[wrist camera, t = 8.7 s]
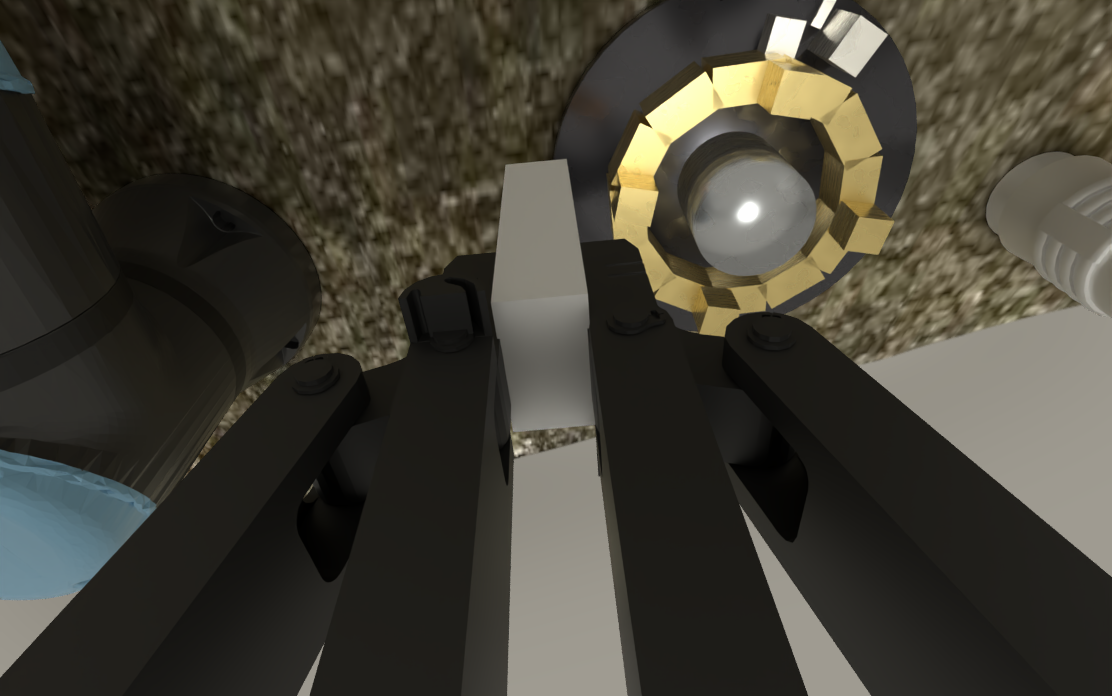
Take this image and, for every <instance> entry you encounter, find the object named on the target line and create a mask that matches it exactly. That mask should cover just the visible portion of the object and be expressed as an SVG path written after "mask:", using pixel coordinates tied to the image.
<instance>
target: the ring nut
mask: <svg viewBox="0 0 1112 696" xmlns="http://www.w3.org/2000/svg"><path fill="white" fill-rule="evenodd" d="M806 22H807V21H805V20H802V19H799V18H797V17H790V16H783V15H777V14H770V13H768V14H767V17H766V20H765V24H764V27H763V31H762V34H761V37H760V41H759V44H758V48H757V50H751V51H745V52H738V53H731V54H724V55H717V56H710V57H703V58H701V67H700V66H699V65H698V64H697V63H696V62H695V61H693V62H692V63H691V64H690V65H688V66H687V67H686V68H684V69H683V70H682V71H680V72H679V73H678V74H677V75H675V76H674V77H673V78H671V79H670V80H669V81H667V82H666V83H665V84H663V85H662V86H661V87H660V88H658V89H657V90H656V91H654V92H653V93H652V94H650V95H649V96H648V97H647V98H645V99H644V100H643V101H641V102H640V103H639V104H640V106H641V109H642V111H643V113H642V112H640V111H637V110H635V109H634V111H633V113H632V115H631V117H630V120H629V122H628V124H627V126H626V128H625V130H624V132H623V135H622V137H621V139H620V141H619V143H618V145H617V148H616V150H615V152H614V154H613V156H612V158H611V161H610V163H609V165H608V171H609V173H606V175H607V186H608V197H609V209H610V220H611V230H612V235H613V240H614V239H626V240H627V241H629V242H630V243H632V244H633V245H634V246H636V247H637V248H638V249H639V252H640V255H641V258H642V261H643V264H644V267H645V269H646V274H647V275H648V278H649V281H650V284H651V287H652V290H653V293H654V296H655V299H657V300H660V301H663V302H665V303H668V304H671V305H674V306H676V307H679V308H682V309H684V310H687V311H690V312H692V314H693V317H694V320H695V323H696V326H697V329H698V332H699V334H704V335H714V336H723V337H725V331H726V326H727V325H728V324H729V323H730V322H731V321H732V320H734V319H735V318H738V317H739V314H741V313H750V312H759V311H765V309H766V301H767V302H768V304H769V305H770V307H771V309H772V308H774V307H776V306H777V305H779V304H781V303H783V302H785V301H786V300H788V299H790V298H792V297H793V296H795V295H797V294H799V293H800V292H802V291H804V290H806V289H808V288H809V287H811V286H813V285H815V284H816V283H818V282H820V281H822V280H823V279H825V278H824V276H823V275H822V273H821V271H824V272H826V273H829V274H831V272H832V271H833V270H834V269H835V267H836V266H837V265H838V263H839V262H840V261H841V259H842V258H843V257H844V255H845V254H846V253H847V252H848V251H852V252H860V253H869V254H877V255H878V254H879V252H880V250H881V248H882V246H883V244H884V242H885V240H886V238H887V236H888V234H889V232H890V230H891V228H892V225H893V223H894V221H893V220H892V219H891V218H890V217H889V216H888V215H887V214H885V213H884V212H883V211H882V210H881V209H880V208H879V207H877V206H876V205H875V204H874V202H875V197H876V191H877V186H878V180H879V175H880V170H881V164H882V159H883V155H881V154H880V153H878V151H880V150H881V149H882V147H881V145H880V143H879V140H878V138H877V136H876V134H875V132H874V129H873V127H872V125H871V123H870V121H869V118H868V116H867V114H866V112H865V109H864V107H863V105H862V103H861V101H860V98H859V96H858V94H857V93H856V92H854V91H852V90H851V89H852V88H851V87H849V86H847V85H846V84H844V83H842V82H840V81H838V80H836V79H835V78H833V77H831V76H829V75H827V74H825V73H823V72H821V71H819V70H817V69H815V68H813V67H811V66H809V65H807V64H805V63H803V62H801V61H799V60H797V59H795V55H796V52H797V49H798V46H799V43H800V40H801V37H802V34H803V31H804V28H805V25H806ZM755 103H758V104H759V105H760V106H762V107H763V108H764V109H765V110H766V111H767V112H769V113H770V114H773V115H781V116H788V117H795V118H802V119H809V120H810V122H811V124H812V126H813V128H814V130H815V132H816V134H817V136H818V138H819V140H820V142H821V144H822V146H823V148H824V150H825V151H824V159H823V167H822V175H821V183H820V191H819V198H818V199H817V200H816V219H815V224H814V227H813V230H812V232H811V234H810V236H809V238H808V240H807V241H806V243H805V244H804V246H803V247H802V248H801V249H800V251H799V252H798V253H797V254H796V255H795V256H793V257H792V258H791V259H790V260H789V261H787V262H786V263H784V264H783V265H781V266H779V267H778V268H776V269H773V270H771V271H769V272H766V273H763V274H758V275H752V276H737V275H731V274H727V273H724V272H722V271H720V270H718V269H716V268H714V267H707V268H705V267H702V266H699V265H697V264H694V263H692V262H689V261H687V260H684V259H682V258H679V257H676V256H674V255H671V254H669V253H666V251H665V250H664V249H663V247H662V246H661V245H660V243H659V242H658V241H657V239H656V238H655V236H654V235H653V234H652V232H651V231H650V230H649V228H648V227H650V226H651V222H652V218H653V214H654V209H655V205H656V201H657V197H658V192H659V191H658V188H657V186H656V183H655V181H654V178H653V176H654V174H655V172H656V171H657V169H658V167H659V165H660V163H661V161H662V159H663V157H664V155H665V153H666V151H667V149H668V147H669V145H670V143H672V142H673V141H675V140H676V139H677V138H679V137H680V136H681V135H683V134H684V133H686V132H687V131H688V130H690V129H691V128H693V127H694V126H695V125H697V124H698V123H699V122H701V121H702V120H704V119H705V118H706V117H708V116H709V115H711V114H712V113H713V112H715V111H716V110H717V109H719V108H726V107H734V106H741V105H748V104H755ZM820 270H821V271H820Z"/></svg>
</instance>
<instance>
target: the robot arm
mask: <svg viewBox="0 0 1112 696" xmlns="http://www.w3.org/2000/svg"><path fill="white" fill-rule="evenodd" d="M31 94H35V91H34V87H33V85H32V83H31V82H30V81H29V80H27V79H25V78H24V77H22V76H21V74H20V73H19V71H18V69H17V68H16V66H15V64H14V62H13V61H12V59H11V57H10V56H9V54H8V52H7V51H6V49H5V47H4V45H3V44H2V42H1V40H0V600H36V599H46V598H53V597H59V596H63V595H68V594H71V593H74V592H77V591H80V590H81V591H80V592H79V593H78V594H77V595H76V596H75V597H74V598H73V599H72V600H71V601H70V603H69V604H68V605H67V606H66V607H65V608H64V609H63V610H62V611H61V612H60V613H59V615H58V616H57V617H56V618H55V619H54V620H53V621H52V622H51V623H50V624H49V626H47V628H46V629H45V630H44V631H43V632H42V633H41V634H40V635H39V636H38V637H37V638H36V640H35V641H34V642H33V643H32V644H31V645H30V646H29V647H28V648H27V649H26V650H25V651H24V652H23V654H22V655H21V656H20V657H19V658H18V659H17V660H16V661H15V662H14V663H13V664H12V666H11V667H10V668H9V669H8V670H7V671H6V672H5V673H4V674H3V675H2V677H1V678H0V696H297V694H298V692H299V690H300V689H301V687H302V685H303V683H304V681H305V679H306V677H307V675H308V673H309V671H310V669H311V668H312V666H313V664H314V662H315V660H316V658H317V656H318V654H319V652H320V650H321V648H322V646H323V645H324V647H323V651H322V654H321V658H320V661H319V665H318V668H317V672H316V675H315V679H314V682H313V686H312V689H311V692H310V696H507V675H508V640H509V605H510V604H509V603H510V570H511V533H512V499H513V498H512V497H513V463H514V452H513V446H512V440H511V435H510V422H512V427H513V432H519V431H531V430H542V429H554V428H565V427H577V426H588V425H595V427H596V442H597V459H598V475H599V476H600V477H601V484H602V492H603V501H604V509H605V517H606V525H607V533H608V541H609V549H610V557H611V565H612V573H613V581H614V589H615V598H616V606H617V613H618V622H619V630H620V637H621V646H622V654H623V661H624V669H625V678H626V686H627V694H628V696H808V694H807V691H806V688H805V686H804V683H803V680H802V677H801V674H800V672H799V669H798V666H797V663H796V661H795V658H794V655H793V652H792V649H791V647H790V644H789V641H788V638H787V636H786V633H785V630H784V628H783V624H782V622H781V619H780V616H779V613H778V610H777V608H776V605H775V602H774V599H773V597H772V594H771V591H770V588H769V585H768V583H767V580H766V577H765V575H764V572H763V569H762V566H761V563H760V560H759V558H758V555H757V552H756V550H755V547H754V544H753V541H752V538H751V536H750V533H749V530H748V527H747V525H746V522H745V519H744V516H743V513H742V510H741V508H740V505H741V507H742V508H743V510H744V511H745V513H746V514H747V516H748V517H749V519H750V520H751V521H752V523H753V524H754V526H755V527H756V529H757V530H758V531H759V533H760V534H761V536H762V537H763V539H764V540H765V542H766V543H767V544H768V546H769V548H770V549H771V550H772V552H773V553H774V555H775V556H776V558H777V559H778V561H779V562H780V563H781V565H782V567H783V568H784V569H785V571H786V572H787V574H788V575H789V577H790V578H791V580H792V581H793V583H794V584H795V585H796V587H797V588H798V590H799V591H800V593H801V594H802V595H803V597H804V599H805V600H806V601H807V603H808V604H809V606H810V607H811V609H812V610H813V612H814V613H815V615H816V616H817V617H818V619H819V620H820V622H821V623H822V625H823V626H824V628H825V629H826V631H827V632H828V633H829V635H830V636H831V638H832V639H833V641H834V642H835V644H836V645H837V647H838V648H839V649H840V650H841V652H842V654H843V655H844V657H845V658H846V660H847V661H848V663H849V664H850V665H851V667H852V668H853V670H854V671H855V673H856V674H857V676H858V677H859V679H860V680H861V681H862V683H863V684H864V686H865V687H866V689H867V690H868V692H869V693H870V695H871V696H1112V577H1111V576H1110V575H1108V574H1107V573H1106V572H1105V571H1104V570H1103V569H1101V568H1100V567H1099V566H1098V565H1097V564H1095V563H1094V562H1093V561H1092V560H1091V559H1089V558H1088V557H1087V556H1086V555H1084V554H1083V553H1082V552H1081V551H1080V550H1079V549H1077V548H1076V547H1075V546H1074V545H1073V544H1071V543H1070V542H1069V541H1068V540H1067V539H1065V538H1064V537H1063V536H1062V535H1061V534H1059V533H1058V532H1057V531H1056V530H1055V529H1053V528H1052V527H1051V526H1050V525H1049V524H1047V523H1046V522H1045V521H1044V520H1043V519H1041V518H1040V517H1039V516H1038V515H1036V514H1035V513H1034V512H1033V511H1032V510H1031V509H1029V508H1028V507H1027V506H1026V505H1025V504H1023V503H1022V502H1021V501H1020V500H1019V499H1017V498H1016V497H1015V496H1014V495H1013V494H1011V493H1010V492H1009V491H1008V490H1007V489H1005V488H1004V487H1003V486H1002V485H1001V484H999V483H998V482H997V481H996V480H995V479H993V478H992V477H991V476H990V475H989V474H987V473H986V472H985V471H984V470H982V469H981V468H980V467H979V466H978V465H977V464H975V463H974V462H973V461H972V460H970V459H969V458H968V457H967V456H966V455H964V454H963V453H962V452H961V451H960V450H959V449H957V448H956V447H955V446H954V445H952V444H951V443H950V442H949V441H948V440H946V439H945V438H944V437H943V436H941V434H939V433H938V432H937V431H936V430H934V429H933V428H932V427H931V426H930V425H928V424H927V423H926V422H925V421H924V420H923V419H921V418H920V417H919V416H918V415H917V414H915V413H914V412H913V411H912V410H911V409H909V408H908V407H907V406H906V405H904V404H903V403H902V402H901V401H900V400H899V399H897V398H896V397H895V396H894V395H893V394H891V393H890V392H889V391H888V390H887V389H885V388H884V387H883V386H882V385H880V384H879V383H878V382H877V381H876V380H875V379H873V378H872V377H871V376H870V375H868V374H867V373H866V372H865V371H864V370H862V369H861V368H860V367H859V366H858V365H857V364H855V363H854V362H853V361H852V360H851V359H849V358H848V357H847V356H846V355H845V354H843V353H842V352H841V351H840V350H839V349H837V348H836V347H835V346H834V345H833V344H831V343H830V342H829V341H828V340H827V339H825V338H824V337H823V336H822V335H821V334H819V333H818V332H817V331H816V330H815V329H813V328H812V327H811V326H809V325H808V324H806V323H804V322H803V321H801V320H799V319H798V318H794V317H791V316H788V315H784V314H781V313H775V312H773V313H770V312H758V313H749V314H745V315H743V316H740V317H738V318H735V319H734V320H732V321H731V322H730V323H729V324H728V325H727V326H726V331H725V337H723V336H714V335H704V334H698V333H692V332H688V331H685V330H682V329H679V328H677V327H676V326H675V324H674V322H673V319H672V317H671V316H670V315H669V314H668V312H667V311H666V310H664V309H662V308H661V307H659V306H658V305H657V302H656V299H655V296H654V293H653V290H652V287H651V284H650V281H649V278H648V275H647V274H646V269H645V267H644V264H643V261H642V258H641V255H640V252H639V249H638V248H637V247H636V246H634V245H633V244H632V243H630V242H629V241H627V240H626V239H614V240H603V241H592V242H582V243H580V241H579V234H578V228H577V222H576V215H575V209H574V203H573V196H572V190H571V184H570V177H569V171H568V165H567V159H560V160H549V161H539V162H529V163H518V164H508V165H506V166H505V175H504V185H503V194H502V203H501V213H500V222H499V231H498V241H497V250H496V252H494V253H484V254H473V255H462V256H457V257H456V258H455V259H454V260H453V261H452V262H451V263H450V264H449V265H448V266H447V267H445V269H444V273H443V275H437V276H432V277H429V278H426V279H423V280H421V281H418V282H416V283H414V284H413V285H411V286H410V287H408V288H407V289H405V290H404V291H403V293H402V294H401V295H400V297H399V298H398V300H399V303H400V307H401V310H402V314H403V318H404V321H405V325H406V328H407V332H408V336H409V339H410V347H409V350H408V354H407V357H405V358H403V359H401V360H399V361H396V362H394V363H391V364H388V365H385V366H382V367H378V368H375V369H371V370H368V371H364V372H362V369H361V366H360V363H359V361H357V360H356V359H355V358H353V357H352V356H350V355H345V354H340V353H332V354H320V355H315V356H314V357H313V356H312V357H309V358H306V359H304V360H302V361H300V362H298V363H296V364H294V365H292V366H290V367H289V368H288V369H286V370H285V371H284V372H283V373H282V374H280V375H279V376H278V377H277V378H276V379H275V380H274V381H273V382H272V383H271V385H270V386H269V387H268V388H267V389H266V390H265V391H264V392H263V393H262V394H261V395H260V396H259V398H258V399H257V400H256V401H255V402H254V403H253V404H252V405H251V406H250V407H249V408H248V409H247V411H246V412H245V413H244V414H243V415H242V416H241V417H240V418H239V419H238V420H237V421H236V423H235V424H234V425H233V426H232V427H231V428H230V429H229V430H228V431H227V432H226V433H225V434H224V436H223V437H222V438H221V439H220V440H219V441H218V442H217V443H216V444H215V445H214V446H213V447H212V449H211V450H210V451H209V452H208V453H207V454H206V455H205V456H204V457H203V458H202V459H201V460H200V462H199V463H198V464H197V465H196V466H195V467H194V468H193V469H192V470H191V471H190V472H189V473H188V475H187V476H186V477H185V478H184V476H185V475H186V473H187V472H188V470H189V469H190V467H191V466H192V464H193V463H194V461H195V460H196V458H197V457H198V455H199V454H200V452H201V451H202V449H203V447H204V446H205V444H206V443H207V441H208V440H209V438H210V437H211V435H212V434H213V432H214V431H215V429H216V428H217V426H218V425H219V423H220V422H221V420H222V419H223V417H224V416H225V414H226V412H227V411H228V409H229V408H230V406H231V405H232V403H233V402H234V400H235V399H236V397H237V396H238V394H239V393H240V392H242V391H244V390H245V389H247V388H248V387H250V386H252V385H253V384H255V383H256V382H258V381H260V380H261V379H263V378H264V377H266V376H268V375H269V374H271V373H272V372H274V371H276V370H277V369H279V368H280V367H282V366H284V365H285V364H286V363H288V362H289V361H290V360H291V359H292V358H293V357H294V356H295V355H296V354H297V353H298V352H299V351H300V350H301V348H302V347H303V345H304V344H305V342H306V341H307V339H308V337H309V336H310V334H311V332H312V331H313V329H314V327H315V325H316V323H317V320H318V317H319V314H320V308H321V289H320V283H319V279H318V275H317V272H316V269H315V267H314V264H313V262H312V260H311V258H310V256H309V254H308V252H307V250H306V249H305V247H304V246H303V244H302V243H301V241H300V240H299V239H298V237H297V236H296V235H295V233H294V232H293V231H292V230H291V229H290V228H289V227H288V226H287V225H286V224H285V223H284V222H283V221H282V220H281V219H280V218H279V217H278V216H277V215H276V214H275V213H274V212H272V211H271V210H270V209H269V208H267V207H266V206H265V205H263V204H262V203H260V202H259V201H257V200H256V199H254V198H253V197H251V196H249V195H247V194H246V193H244V192H242V191H240V190H238V189H236V188H234V187H231V186H229V185H226V184H224V183H221V182H218V181H215V180H212V179H208V178H205V177H200V176H195V175H188V174H159V175H152V176H148V177H144V178H141V179H138V180H136V181H134V182H131V183H130V184H128V185H126V186H124V187H123V188H121V189H119V190H118V191H116V192H114V193H113V194H111V195H109V196H108V197H106V198H105V199H103V200H102V201H101V202H100V203H99V204H98V205H97V206H96V207H95V208H94V209H93V210H92V211H91V209H90V207H89V205H88V203H87V201H86V199H85V197H84V195H83V193H82V191H81V190H80V188H79V186H78V184H77V182H76V180H75V178H74V176H73V174H72V172H71V170H70V168H69V167H68V165H67V163H66V161H65V159H64V157H63V155H62V153H61V151H60V149H59V147H58V146H57V144H56V142H55V140H54V138H53V136H52V134H51V132H50V130H49V128H48V126H47V124H46V123H45V121H44V119H43V117H42V115H41V113H40V111H39V109H38V107H37V105H36V103H35V101H34V99H33V97H32V95H31ZM183 478H184V479H183ZM182 479H183V480H182ZM312 484H313V485H314V486H313V487H312V489H311V490H310V492H309V493H308V495H307V496H306V497H305V498H304V499H303V497H304V495H305V494H306V492H307V491H308V490H309V488H310V487H311V485H312ZM739 504H740V505H739ZM324 643H325V644H324Z"/></svg>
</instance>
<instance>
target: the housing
mask: <svg viewBox="0 0 1112 696" xmlns="http://www.w3.org/2000/svg"><path fill="white" fill-rule="evenodd" d="M768 13H770V14H777V15H783V16H790V17H797V18H799V19H802V20H805V21H807V22H806V25H805V28H804V31H803V34H802V37H801V40H800V43H799V46H798V49H797V52H796V55H795V59H797V60H799V61H801V62H803V63H805V64H807V65H809V66H811V67H813V68H815V69H817V70H819V71H821V72H823V73H825V74H827V75H829V76H831V77H833V78H835V79H836V80H838V81H840V82H842V83H844V84H846V85H847V86H849V87H851V88H852V89H851V90H852V91H854V92H856V93H857V94H858V96H859V98H860V101H861V103H862V105H863V107H864V109H865V112H866V114H867V116H868V118H869V121H870V123H871V125H872V127H873V129H874V132H875V134H876V136H877V138H878V140H879V143H880V145H881V147H882V149H881V150H880V151H878V153H880V154H881V155H883V159H882V164H881V170H880V175H879V180H878V186H877V191H876V197H875V202H874V204H875V205H876V206H877V207H879V208H880V209H881V210H882V211H883V212H884V213H885V214H887V215H888V216H889V217H890V218H891V217H892V215H893V213H894V211H895V209H896V207H897V205H898V203H899V201H900V199H901V196H902V194H903V191H904V188H905V186H906V183H907V180H908V177H909V174H910V170H911V165H912V161H913V157H914V153H915V143H916V133H917V119H916V103H915V97H914V92H913V87H912V82H911V79H910V76H909V73H908V71H907V68H906V65H905V62H904V60H903V57H902V56H901V54H900V52H899V50H898V49H897V47H896V45H895V43H894V42H893V40H892V38H891V37H890V36H889V34H888V33H887V32H886V31H885V30H884V28H883V27H882V26H881V25H880V24H879V22H878V21H877V20H876V19H875V18H874V17H873V16H872V15H870V14H869V13H868V12H867V11H866V10H865V9H863V8H862V7H861V6H860V5H859V4H857V3H856V2H854V1H853V0H660V1H659V2H657V3H655V4H654V5H652V6H650V7H649V8H647V9H645V10H644V11H642V12H641V13H640V14H639V15H637V16H636V17H635V18H634V19H632V20H631V21H630V22H629V23H627V24H626V25H625V26H623V27H622V28H621V29H620V30H619V31H618V32H617V33H616V34H615V35H614V36H613V37H612V38H611V39H610V40H609V41H608V42H607V43H606V44H605V45H604V46H603V47H602V49H601V50H600V51H599V53H598V54H597V55H596V57H595V58H594V59H593V60H592V62H591V63H590V64H589V66H588V67H587V68H586V70H585V72H584V73H583V75H582V77H581V78H580V80H579V82H578V84H577V85H576V87H575V89H574V90H573V92H572V95H571V97H570V99H569V102H568V104H567V106H566V109H565V111H564V113H563V116H562V120H561V123H560V127H559V130H558V134H557V137H556V143H555V150H554V157H553V160H560V159H567V165H568V171H569V177H570V184H571V190H572V196H573V203H574V209H575V215H576V222H577V228H578V234H579V241H580V243H582V242H592V241H603V240H613V235H612V230H611V220H610V209H609V197H608V186H607V175H606V173H609V171H608V165H609V163H610V161H611V158H612V156H613V154H614V152H615V150H616V148H617V145H618V143H619V141H620V139H621V137H622V135H623V132H624V130H625V128H626V126H627V124H628V122H629V120H630V117H631V115H632V113H633V111H634V109H635V110H637V111H640V112H642V113H643V111H642V109H641V106H640V104H639V103H640V102H641V101H643V100H644V99H645V98H647V97H648V96H649V95H650V94H652V93H653V92H654V91H656V90H657V89H658V88H660V87H661V86H662V85H663V84H665V83H666V82H667V81H669V80H670V79H671V78H673V77H674V76H675V75H677V74H678V73H679V72H680V71H682V70H683V69H684V68H686V67H687V66H688V65H690V64H691V63H692V62H693V61H695V62H696V63H697V64H698V65H699V66H700V67H701V58H703V57H710V56H717V55H724V54H731V53H738V52H745V51H751V50H757V48H758V44H759V41H760V37H761V34H762V31H763V27H764V24H765V20H766V17H767V14H768ZM824 151H825V150H824V148H823V146H822V144H821V142H820V140H819V138H818V136H817V134H816V132H815V130H814V128H813V126H812V124H811V122H810V120H809V119H802V118H795V117H788V116H781V115H773V114H770V113H769V112H767V111H766V110H765V109H764V108H763V107H762V106H760V105H759V104H758V103H755V104H748V105H741V106H734V107H726V108H719V109H717V110H716V111H715V112H713V113H712V114H711V115H709V116H708V117H706V118H705V119H704V120H702V121H701V122H699V123H698V124H697V125H695V126H694V127H693V128H691V129H690V130H688V131H687V132H686V133H684V134H683V135H681V136H680V137H679V138H677V139H676V140H675V141H673V142H672V143H670V145H669V147H668V149H667V151H666V153H665V155H664V157H663V159H662V161H661V163H660V165H659V167H658V169H657V171H656V172H655V174H654V176H653V178H654V181H655V183H656V186H657V188H658V191H659V192H658V197H657V201H656V205H655V209H654V214H653V218H652V222H651V226H650V227H648V228H649V230H650V231H651V232H652V234H653V235H654V236H655V238H656V239H657V241H658V242H659V243H660V245H661V246H662V247H663V249H664V250H665V251H666V253H669V254H671V255H674V256H676V257H679V258H682V259H684V260H687V261H689V262H692V263H694V264H697V265H699V266H702V267H705V268H707V267H714V268H716V269H718V270H720V271H722V272H724V273H727V274H731V275H737V276H752V275H758V274H763V273H766V272H769V271H771V270H773V269H776V268H778V267H779V266H781V265H783V264H784V263H786V262H787V261H789V260H790V259H791V258H792V257H793V256H795V255H796V254H797V253H798V252H799V251H800V249H801V248H802V247H803V246H804V244H805V243H806V241H807V240H808V238H809V236H810V234H811V232H812V230H813V227H814V224H815V219H816V200H817V199H818V198H819V191H820V183H821V175H822V167H823V159H824ZM865 254H866V253H860V252H852V251H848V252H847V253H846V254H845V255H844V257H843V258H842V259H841V261H840V262H839V263H838V265H837V266H836V267H835V269H834V270H833V271H832V272H831V274H829V273H826V272H824V271H821V270H820V271H821V273H822V275H823V276H824V278H825V279H823V280H822V281H820V282H818V283H816V284H815V285H813V286H811V287H809V288H808V289H806V290H804V291H802V292H800V293H799V294H797V295H795V296H793V297H792V298H790V299H788V300H786V301H785V302H783V303H781V304H779V305H777V306H776V307H774V308H772V309H771V307H770V305H769V304H768V302H767V301H766V309H765V311H759V312H770V313H773V312H775V313H781V314H785V313H787V312H790V311H792V310H794V309H796V308H797V307H799V306H801V305H803V304H805V303H807V302H809V301H810V300H812V299H813V298H815V297H816V296H818V295H819V294H821V293H822V292H824V291H825V290H827V289H828V288H830V287H831V286H832V285H833V284H834V283H836V282H837V281H838V280H839V279H841V278H842V277H843V276H844V275H845V274H847V273H848V272H849V271H850V269H851V268H852V267H853V266H854V265H855V264H856V263H857V262H858V261H859V260H860V259H861V258H862V257H863V256H864V255H865ZM656 302H657V305H658V306H659V307H661V308H662V309H664V310H666V311H667V312H668V314H669V315H670V316H671V317H672V319H673V322H674V324H675V326H676V327H677V328H679V329H682V330H687V331H698V329H697V326H696V323H695V320H694V317H693V314H692V312H690V311H687V310H684V309H682V308H679V307H676V306H674V305H671V304H668V303H665V302H663V301H660V300H657V299H656ZM750 313H758V312H750ZM745 314H749V313H741V314H739V317H740V316H743V315H745Z"/></svg>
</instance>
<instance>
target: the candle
mask: <svg viewBox="0 0 1112 696" xmlns="http://www.w3.org/2000/svg"><path fill="white" fill-rule="evenodd" d="M986 219H987V222H988V225H989V227H990V228H991V229H992V230H993V232H994V233H996V234H998V235H999V238H1000V241H1001V244H1002V245H1003V246H1004V247H1005V248H1006V249H1007V251H1009V252H1010V253H1012V254H1014V255H1016V256H1018V257H1019V258H1021V259H1023V260H1025V261H1027V262H1028V263H1030V264H1032V265H1034V266H1035V269H1036V270H1037V271H1038V272H1039V274H1040V275H1041V276H1042V277H1043V278H1044V279H1046V280H1048V281H1050V282H1052V283H1053V284H1054V285H1055V286H1056V287H1057V288H1058V289H1060V290H1062V291H1064V292H1066V293H1067V294H1068V295H1069V296H1070V297H1071V298H1072V299H1074V300H1076V301H1078V302H1080V303H1081V304H1082V305H1083V306H1084V307H1085V308H1087V309H1088V310H1089V311H1091V312H1093V313H1095V314H1097V315H1099V316H1104V317H1110V318H1112V164H1111V163H1109V162H1107V161H1105V160H1104V159H1102V158H1099V157H1094V156H1089V155H1083V156H1073V155H1071V154H1069V153H1064V152H1048V153H1043V154H1040V155H1037V156H1034V157H1031V158H1029V159H1028V160H1026V161H1024V162H1022V163H1020V164H1018V165H1017V166H1016V167H1015V168H1013V169H1012V170H1011V171H1009V172H1008V173H1007V174H1006V175H1005V176H1004V177H1003V178H1002V179H1001V181H1000V182H999V183H998V184H997V185H996V187H995V189H994V190H993V192H992V193H991V195H990V198H989V201H988V204H987V207H986Z"/></svg>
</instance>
